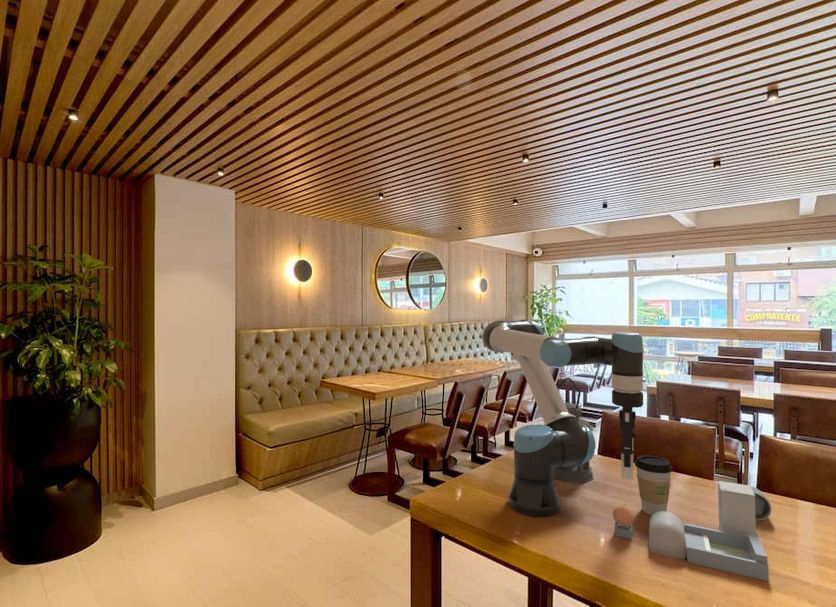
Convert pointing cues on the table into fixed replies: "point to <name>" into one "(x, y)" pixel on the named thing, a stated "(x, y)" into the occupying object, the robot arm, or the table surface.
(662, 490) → the coffee cup
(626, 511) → the ball
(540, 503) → the robot arm
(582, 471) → the lantern
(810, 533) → the table surface
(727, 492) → the supplement box
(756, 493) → the ceramic mug
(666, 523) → the grey molded pieces
